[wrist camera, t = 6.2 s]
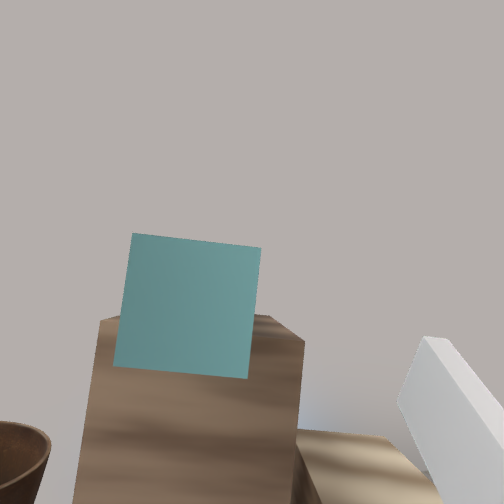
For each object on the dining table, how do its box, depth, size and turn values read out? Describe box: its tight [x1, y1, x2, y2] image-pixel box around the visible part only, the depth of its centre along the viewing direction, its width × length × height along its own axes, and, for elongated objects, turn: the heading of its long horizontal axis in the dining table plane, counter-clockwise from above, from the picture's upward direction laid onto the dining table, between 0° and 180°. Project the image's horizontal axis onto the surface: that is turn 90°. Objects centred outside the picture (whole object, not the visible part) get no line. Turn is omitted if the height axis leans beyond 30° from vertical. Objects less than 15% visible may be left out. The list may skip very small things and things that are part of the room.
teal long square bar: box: [113, 233, 261, 379], centre depth 24 cm, size 28×4×4 cm, turn 4°
